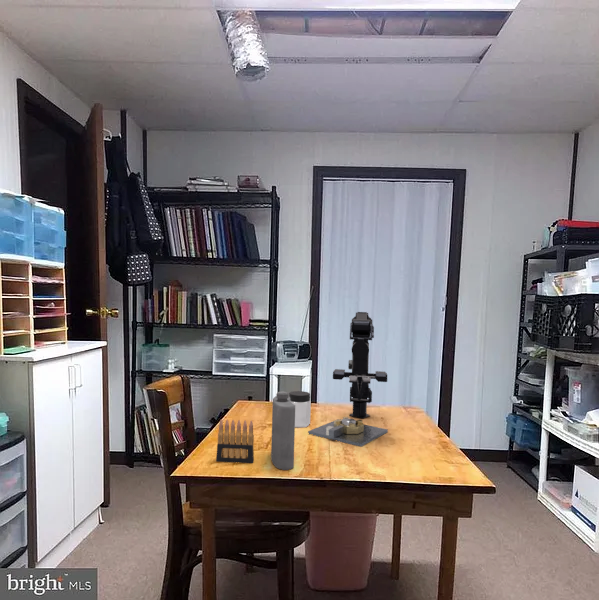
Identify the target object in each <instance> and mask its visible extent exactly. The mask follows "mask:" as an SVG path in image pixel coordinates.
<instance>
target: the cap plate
mask: <svg viewBox="0 0 599 600" xmlns="http://www.w3.org/2000/svg"><path fill="white" fill-rule="evenodd" d="M341 419H342V424H343V425H349V423H354V424H355V425H356V420H357V419H354V418H349V417H348V418H346V419H343V418H341ZM336 420H339V419H336ZM334 421H335V420H333V421H330V422H328V423H325V424H323V425H320V426H318V427H315V428H313V429H311V430H307V433H309V434H308V435H310V434H313V435H312V436H314V435H316V436H315V437H319V436H320V438H323V437H324V438H323V439H327V438H328V439H329V440H331V439H332V441H335V440H337V441H336V442H339V441H340V443H345V444H347V445H348V444H349V445H353V446H356V447H360V448H361V447H363V446H365V445H367V444H369V443H370V442H372V441H374V440H376V439H378V438H380V437H382V436H384V435H385V434H387V433H388V432H389V429H387V428H383V427H377V426H372V425H368V424H364V431H363V432H361V433H359V434H342V435H340V436H337V437H335V438H331V437H329V429H331V428H334Z"/></svg>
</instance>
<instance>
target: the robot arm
mask: <svg viewBox="0 0 599 600" xmlns="http://www.w3.org/2000/svg"><path fill="white" fill-rule="evenodd" d="M349 327H350V328H349V340H353V341H352V346H351V359H349V360H348V365H347V366H348V370H351V371H350V372H349V371H346V369H340V368H339V369H338V368H336V369H334V370H333V371H332V380H343V379H344V378H348V382H349V383H351V386H350V387H349V402H350V403H351V402H352V413H350V414H349V417H353V418H358V419H361V420H362V419H366V418H369V417H370V416H371V415H370V414H369V413H368V412H367V411H368V410H367V409H368V407H367V406H368V405H367V404H370V403H372V402H373V399H372V398H373V391H372V390H371V387H370V386H369V385H370V384H371V380H372V379H374V380H376V381H377V382H379V383H380V382H381V383H387V382H388V374H387V372H386V371H379V370H376V371H375V373H370V372H369V363H370V362H369V359H370V358H369V357H370V355H369V354H370V342H369V341H372V340H373V339H374V338H375V326H374V325H373V319H372V317H370V316H369V312H367V311H366V312H365V311H357V312H355V316H354V317H353V318H351V322H350V326H349Z"/></svg>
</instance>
